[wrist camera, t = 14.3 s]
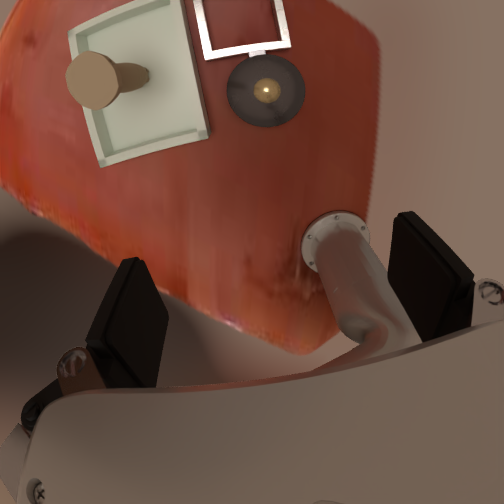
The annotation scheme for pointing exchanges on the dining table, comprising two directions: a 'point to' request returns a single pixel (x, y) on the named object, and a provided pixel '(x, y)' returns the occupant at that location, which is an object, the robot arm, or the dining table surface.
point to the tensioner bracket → (259, 74)
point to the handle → (102, 79)
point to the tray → (153, 92)
